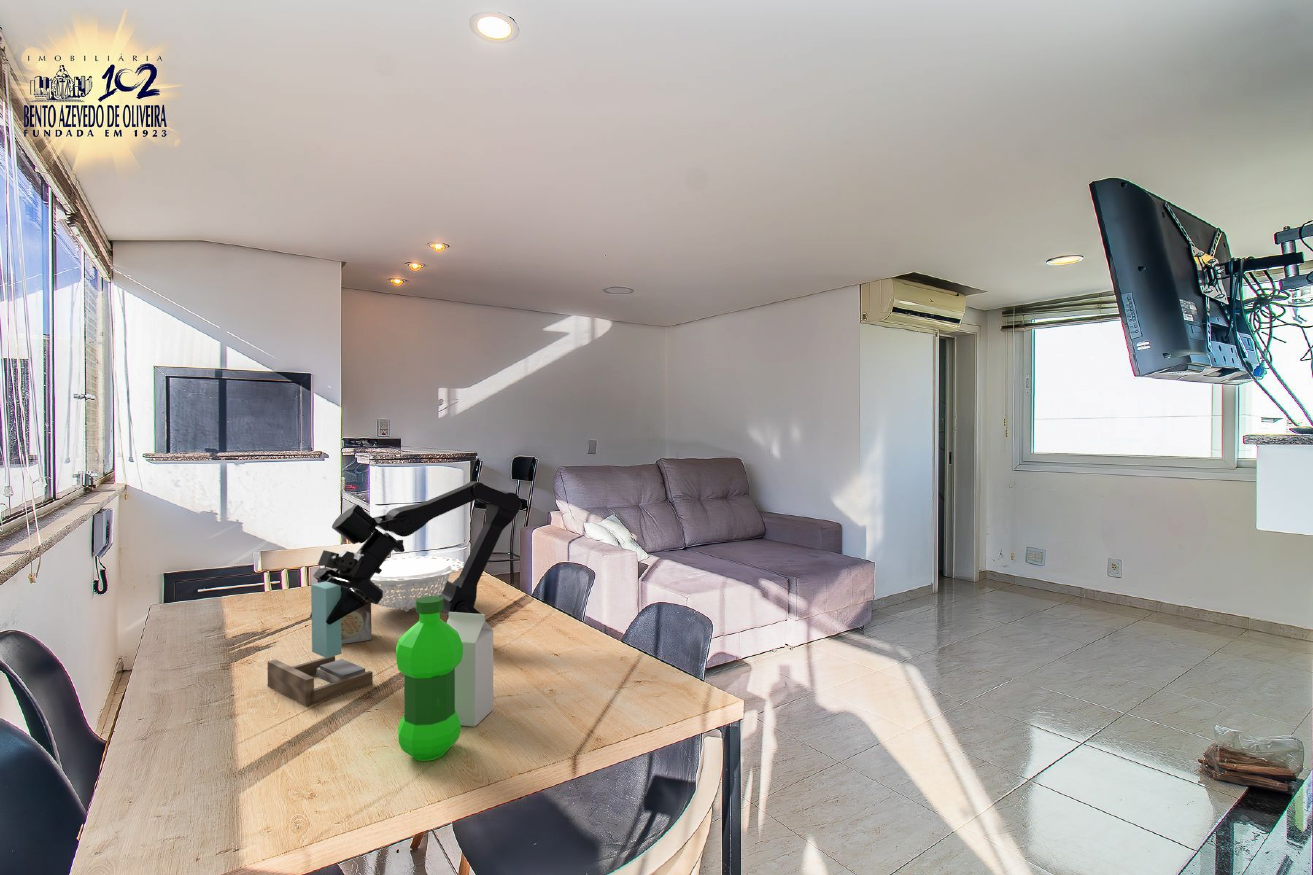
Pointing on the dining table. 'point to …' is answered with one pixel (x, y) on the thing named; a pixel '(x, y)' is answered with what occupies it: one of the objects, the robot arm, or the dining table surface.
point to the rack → (311, 681)
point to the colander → (413, 578)
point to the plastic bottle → (429, 683)
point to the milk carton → (473, 668)
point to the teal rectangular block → (323, 634)
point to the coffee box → (357, 625)
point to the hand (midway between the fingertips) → (319, 620)
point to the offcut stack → (338, 670)
